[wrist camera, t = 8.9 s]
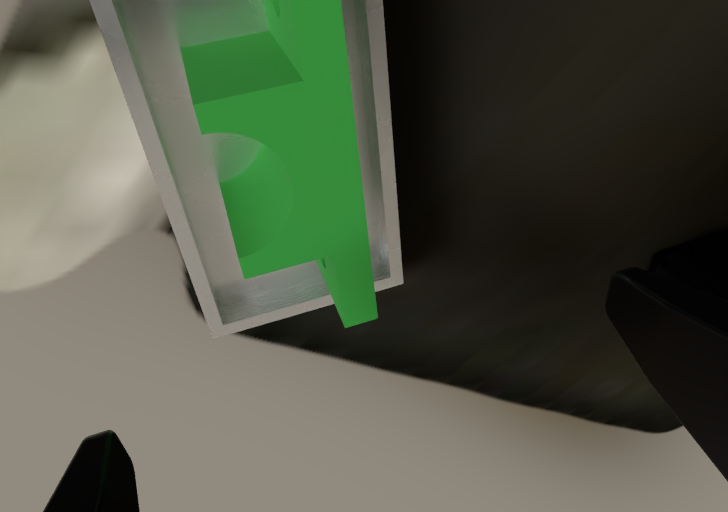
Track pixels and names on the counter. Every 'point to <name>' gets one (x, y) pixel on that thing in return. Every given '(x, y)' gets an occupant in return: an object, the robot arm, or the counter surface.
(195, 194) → the grey rectangular tray
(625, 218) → the counter surface
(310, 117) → the pipe clamp
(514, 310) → the counter surface
